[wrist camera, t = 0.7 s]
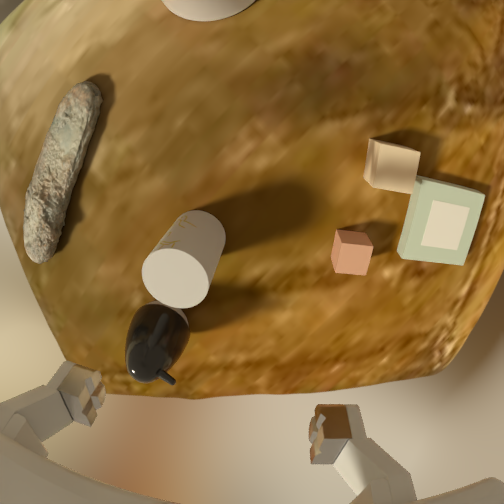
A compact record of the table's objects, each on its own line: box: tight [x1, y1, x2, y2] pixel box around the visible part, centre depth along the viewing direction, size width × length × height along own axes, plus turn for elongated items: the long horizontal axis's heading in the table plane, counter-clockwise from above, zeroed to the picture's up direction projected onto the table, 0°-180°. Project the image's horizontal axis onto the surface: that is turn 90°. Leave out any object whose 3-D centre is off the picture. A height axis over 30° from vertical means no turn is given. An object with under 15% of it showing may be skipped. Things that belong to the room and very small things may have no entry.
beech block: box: [363, 138, 421, 194], centre depth 35 cm, size 6×6×5 cm
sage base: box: [397, 175, 485, 265], centre depth 39 cm, size 12×12×3 cm
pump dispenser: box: [125, 301, 190, 385], centre depth 46 cm, size 10×10×15 cm
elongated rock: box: [23, 81, 103, 264], centre depth 41 cm, size 35×5×10 cm
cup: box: [142, 210, 226, 308], centre depth 40 cm, size 8×8×12 cm
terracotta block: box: [331, 229, 374, 275], centre depth 42 cm, size 4×4×4 cm
